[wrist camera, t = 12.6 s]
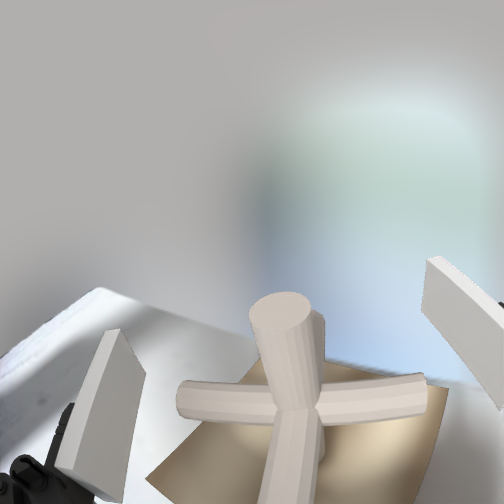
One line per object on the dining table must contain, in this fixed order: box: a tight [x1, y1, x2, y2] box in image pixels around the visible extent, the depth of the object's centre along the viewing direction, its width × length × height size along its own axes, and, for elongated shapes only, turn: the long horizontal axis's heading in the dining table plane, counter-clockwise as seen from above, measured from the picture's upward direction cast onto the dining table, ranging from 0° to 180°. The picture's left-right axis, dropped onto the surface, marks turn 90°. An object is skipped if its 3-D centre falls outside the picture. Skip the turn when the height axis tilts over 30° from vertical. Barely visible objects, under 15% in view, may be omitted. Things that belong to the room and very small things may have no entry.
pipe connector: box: [176, 292, 428, 504], centre depth 11 cm, size 10×10×10 cm
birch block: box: [145, 358, 449, 504], centre depth 15 cm, size 13×13×8 cm
